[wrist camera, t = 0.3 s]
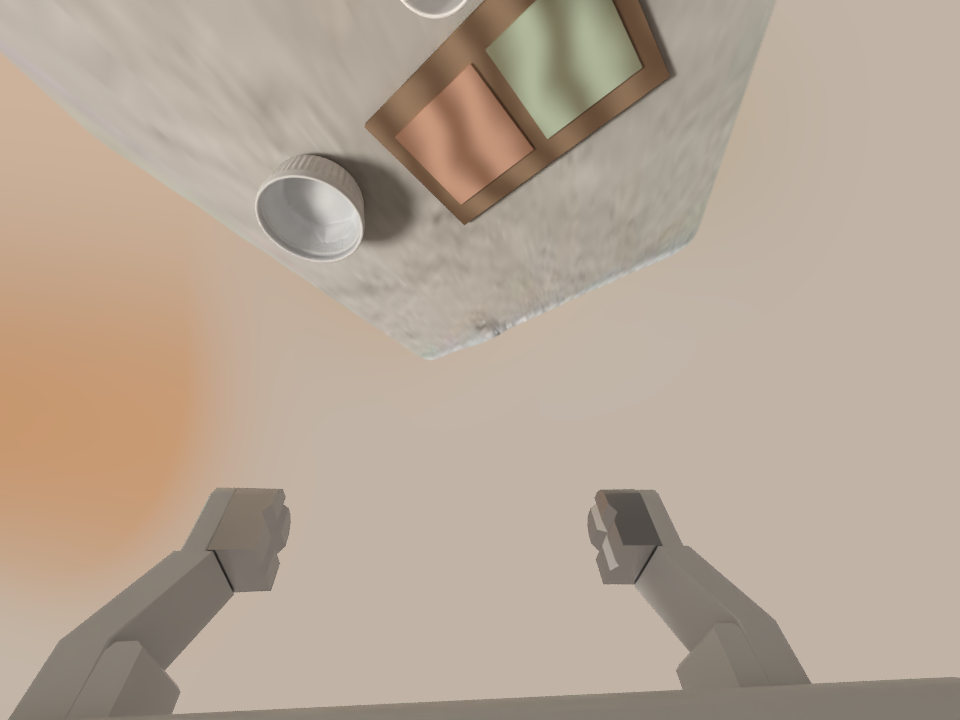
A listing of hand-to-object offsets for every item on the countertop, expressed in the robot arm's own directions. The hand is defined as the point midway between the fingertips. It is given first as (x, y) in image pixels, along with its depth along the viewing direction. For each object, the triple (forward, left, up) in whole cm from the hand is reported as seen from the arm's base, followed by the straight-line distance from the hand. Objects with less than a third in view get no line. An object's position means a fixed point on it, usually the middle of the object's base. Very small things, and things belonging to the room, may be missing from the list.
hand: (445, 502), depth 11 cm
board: (+3, +12, -50) cm, 52 cm away
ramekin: (+30, +5, -51) cm, 59 cm away
